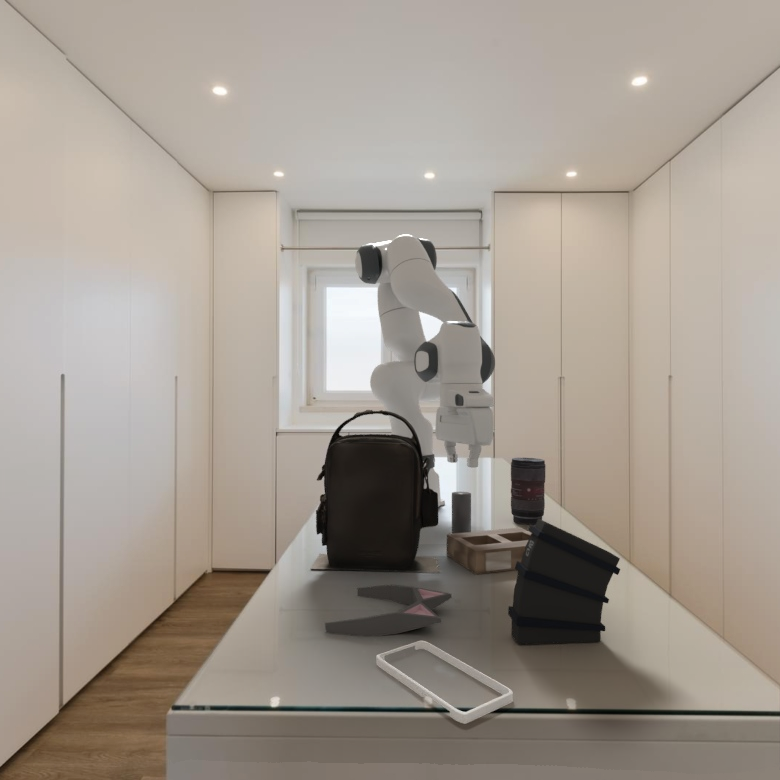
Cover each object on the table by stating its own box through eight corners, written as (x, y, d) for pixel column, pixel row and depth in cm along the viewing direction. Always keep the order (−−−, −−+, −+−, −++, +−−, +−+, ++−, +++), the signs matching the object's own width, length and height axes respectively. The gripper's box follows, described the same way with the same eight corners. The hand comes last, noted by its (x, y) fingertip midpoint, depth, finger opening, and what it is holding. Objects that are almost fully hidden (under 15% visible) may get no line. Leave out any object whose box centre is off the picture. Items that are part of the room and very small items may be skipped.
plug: (448, 539, 120) (448, 492, 120) (465, 538, 121) (465, 491, 121) (456, 544, 116) (456, 495, 116) (474, 542, 117) (474, 494, 117)
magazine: (485, 622, 73) (534, 516, 74) (574, 662, 74) (622, 557, 75) (493, 634, 70) (544, 523, 70) (586, 676, 71) (636, 566, 71)
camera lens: (546, 526, 132) (546, 461, 132) (510, 524, 133) (510, 460, 133) (544, 518, 140) (544, 457, 139) (510, 516, 141) (510, 456, 141)
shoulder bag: (438, 557, 107) (438, 409, 107) (439, 573, 98) (440, 411, 98) (319, 555, 109) (319, 408, 109) (310, 570, 100) (310, 410, 99)
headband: (356, 583, 88) (453, 582, 84) (358, 604, 87) (455, 603, 84) (323, 618, 74) (436, 618, 70) (326, 642, 74) (439, 643, 70)
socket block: (446, 555, 109) (446, 534, 109) (519, 547, 114) (519, 527, 114) (476, 575, 97) (477, 551, 97) (556, 565, 102) (556, 543, 102)
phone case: (515, 704, 58) (423, 649, 70) (515, 691, 58) (423, 638, 70) (462, 729, 54) (373, 666, 66) (462, 715, 54) (373, 655, 66)
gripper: (428, 398, 127) (428, 460, 127) (469, 398, 108) (470, 471, 108) (453, 398, 129) (454, 459, 129) (498, 397, 110) (500, 469, 110)
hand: (462, 464), depth 118 cm, fingers open, 8 cm apart
